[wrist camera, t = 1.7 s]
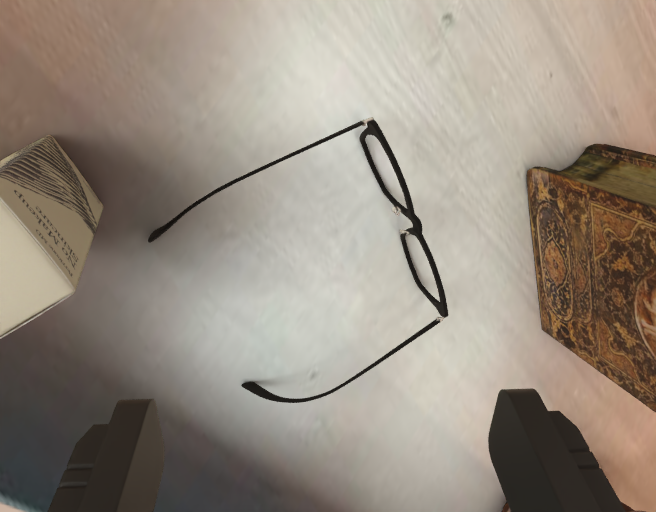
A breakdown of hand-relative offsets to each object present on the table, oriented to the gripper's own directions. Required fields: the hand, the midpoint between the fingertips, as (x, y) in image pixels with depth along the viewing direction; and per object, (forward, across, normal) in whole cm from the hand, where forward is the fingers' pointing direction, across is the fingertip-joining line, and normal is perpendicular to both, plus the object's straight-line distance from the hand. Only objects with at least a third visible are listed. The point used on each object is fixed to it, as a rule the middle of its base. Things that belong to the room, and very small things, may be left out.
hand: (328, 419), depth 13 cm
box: (+21, +15, +3) cm, 26 cm away
